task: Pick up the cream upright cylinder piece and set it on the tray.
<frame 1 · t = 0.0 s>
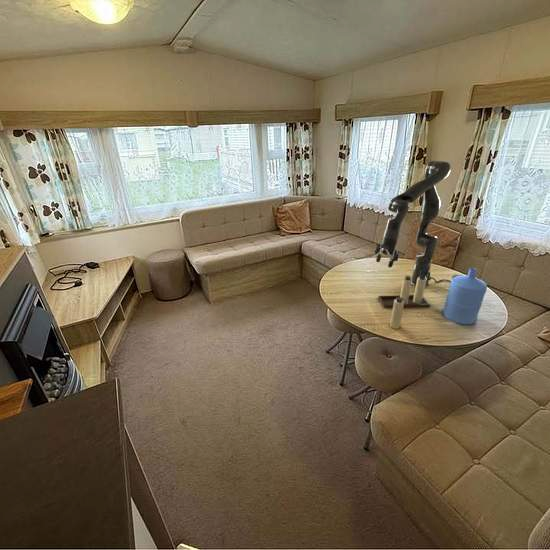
hand: (383, 264, 168), 22 cm above the table, tool pointing down, fingers open, 8 cm apart
tray: (403, 303, 173), on the table
cream upright cylinder piece: (394, 326, 153), on the table
plant pot: (458, 295, 179), on the table
bottle b: (403, 302, 173), point 1 cm above the table, touching tray
bottle a: (417, 301, 173), point 1 cm above the table, touching tray
water jug: (458, 317, 159), on the table
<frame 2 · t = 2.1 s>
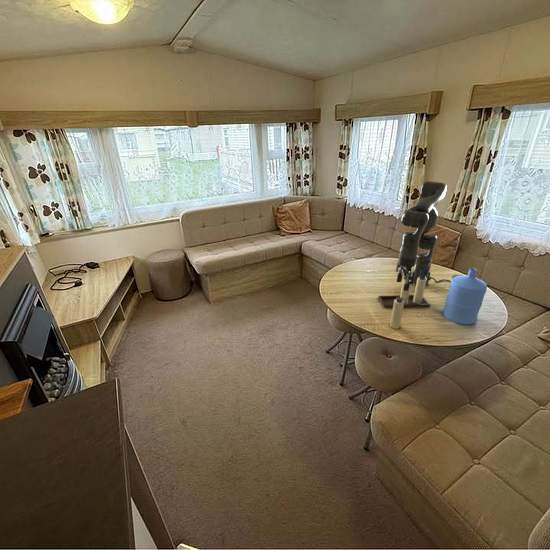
hand: (402, 286, 143), 23 cm above the table, tool pointing down, fingers open, 8 cm apart
nothing on the table moved.
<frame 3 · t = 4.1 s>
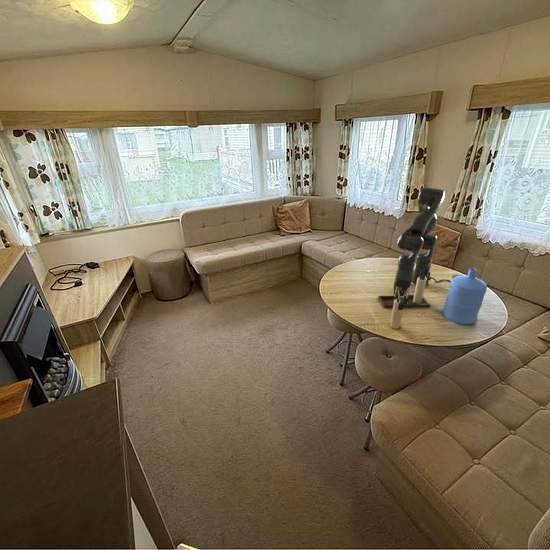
hand: (398, 306, 148), 12 cm above the table, tool pointing down, fingers closed on cream upright cylinder piece, 4 cm apart
cream upright cylinder piece: (394, 326, 153), on the table, touching gripper
everything else where it was.
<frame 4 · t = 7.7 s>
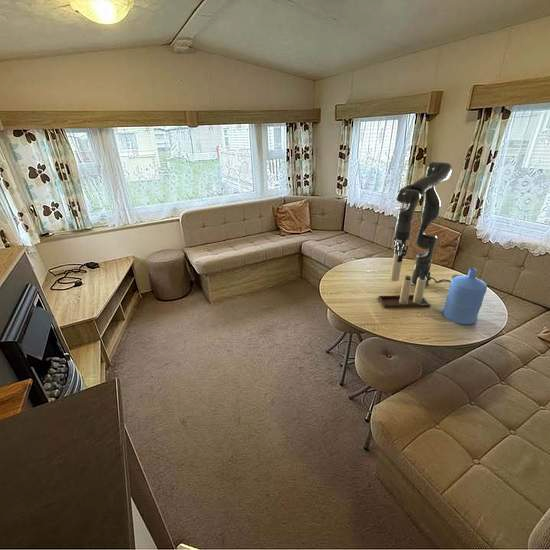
hand: (397, 259, 159), 28 cm above the table, tool pointing down, fingers closed on cream upright cylinder piece, 4 cm apart
cream upright cylinder piece: (394, 279, 164), point 16 cm above the table, touching gripper
everything else where it was.
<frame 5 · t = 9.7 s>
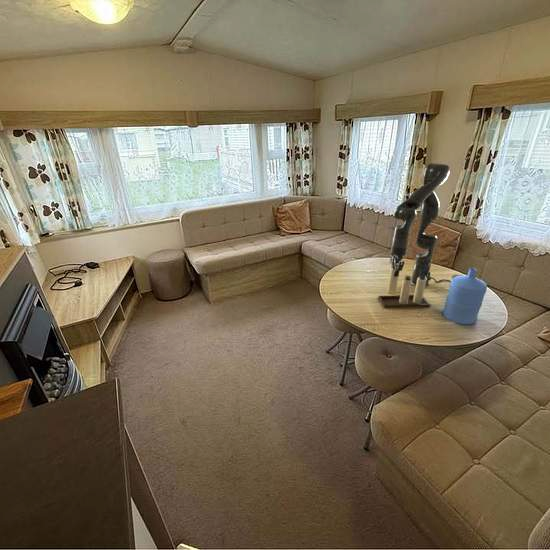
hand: (394, 273, 165), 19 cm above the table, tool pointing down, fingers closed on cream upright cylinder piece, 4 cm apart
cream upright cylinder piece: (391, 292, 170), point 7 cm above the table, touching gripper
everything else where it was.
when the fingers open (12 cm above the table, at t = 11.7 s): cream upright cylinder piece stays where it is, resting on tray.
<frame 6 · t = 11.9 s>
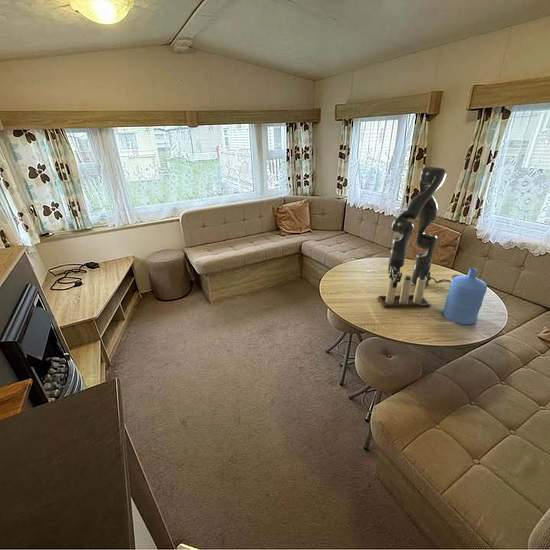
hand: (392, 284, 167), 12 cm above the table, tool pointing down, fingers open, 5 cm apart
cream upright cylinder piece: (389, 302, 173), point 1 cm above the table, touching tray
everything else where it was.
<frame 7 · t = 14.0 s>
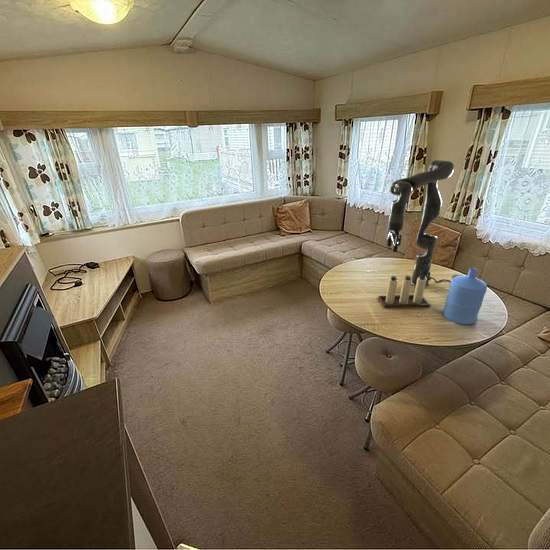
hand: (391, 248, 165), 31 cm above the table, tool pointing down, fingers open, 8 cm apart
nothing on the table moved.
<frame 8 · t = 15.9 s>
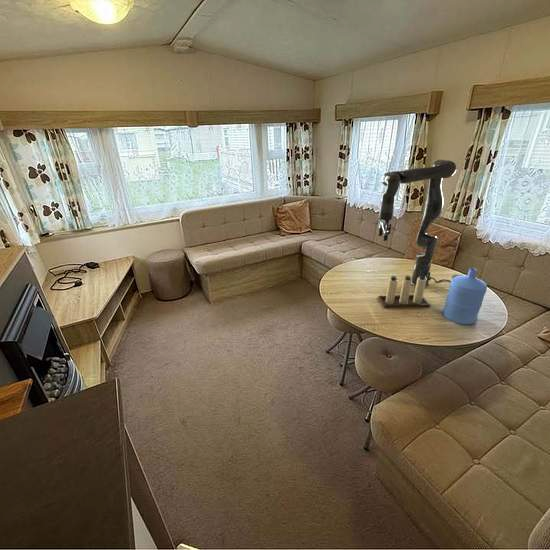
hand: (382, 238, 173), 34 cm above the table, tool pointing down, fingers open, 8 cm apart
nothing on the table moved.
at the end: cream upright cylinder piece 0.0 cm from the target spot in the tray, point 0.6 cm above the tray's base; cream upright cylinder piece tilted 0°; bottle b moved 0.0 cm from its start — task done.
